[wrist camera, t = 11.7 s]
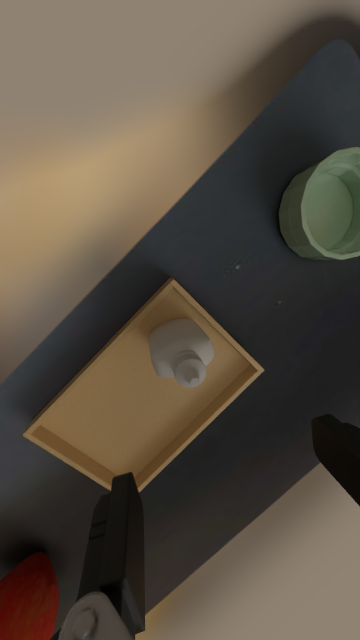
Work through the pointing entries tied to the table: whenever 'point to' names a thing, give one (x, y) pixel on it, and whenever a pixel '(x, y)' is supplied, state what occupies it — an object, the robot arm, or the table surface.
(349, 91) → the table surface
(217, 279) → the table surface
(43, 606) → the apple
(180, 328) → the eye dropper bottle
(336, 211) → the bowl
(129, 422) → the tray
